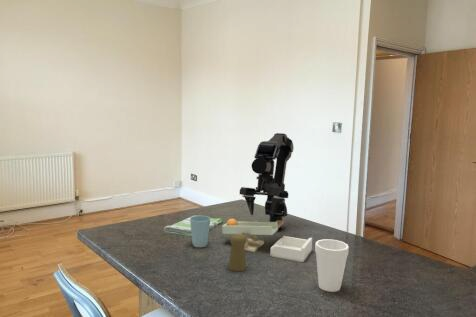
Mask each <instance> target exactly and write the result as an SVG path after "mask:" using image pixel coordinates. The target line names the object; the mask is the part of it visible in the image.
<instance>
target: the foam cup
mask: <svg viewBox="0 0 476 317" xmlns="http://www.w3.org/2000/svg"><path fill="white" fill-rule="evenodd" d="M314 246H315V247H314V248H315V249H314V251H315V255H316V256H315V257H316V270H317V280H318V281H317V282H318V283H317V284H318V287H319V288H320V289H321V290H322V291H325V292H329V293H330V292H331V293H334V292H338V291H340V290H341V287H342V282H343V278H344V274H345V268H346V263H347V259H348V256H349V248H350V246H349V244H348V243H345V242H344V241H341V240H337V239H331V238H330V239H327V238H326V239H325V238H324V239H319V240H317V241H315V245H314Z"/></svg>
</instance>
